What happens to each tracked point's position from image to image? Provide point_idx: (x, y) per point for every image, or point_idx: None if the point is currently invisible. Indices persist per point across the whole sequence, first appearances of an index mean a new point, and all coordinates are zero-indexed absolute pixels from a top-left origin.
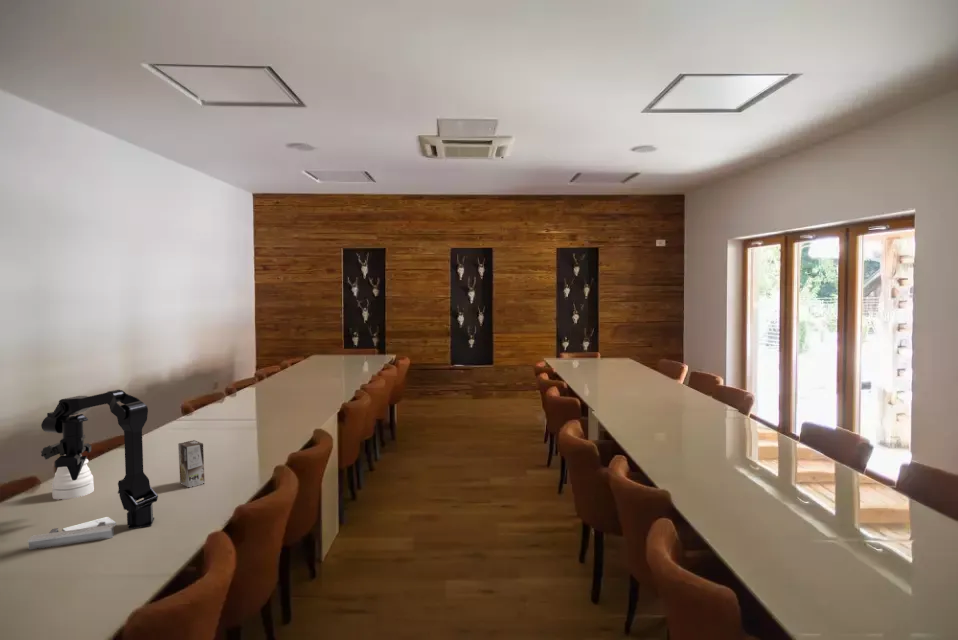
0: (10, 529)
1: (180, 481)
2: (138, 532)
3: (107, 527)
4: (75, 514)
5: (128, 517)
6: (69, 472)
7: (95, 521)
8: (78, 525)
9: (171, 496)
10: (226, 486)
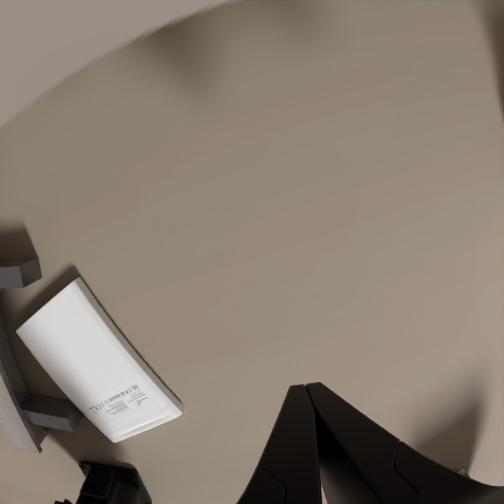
0: (190, 23)
1: (461, 473)
2: (64, 473)
3: (18, 439)
4: (305, 255)
5: (84, 484)
6: (260, 459)
7: (128, 388)
8: (92, 338)
9: None
10: None
